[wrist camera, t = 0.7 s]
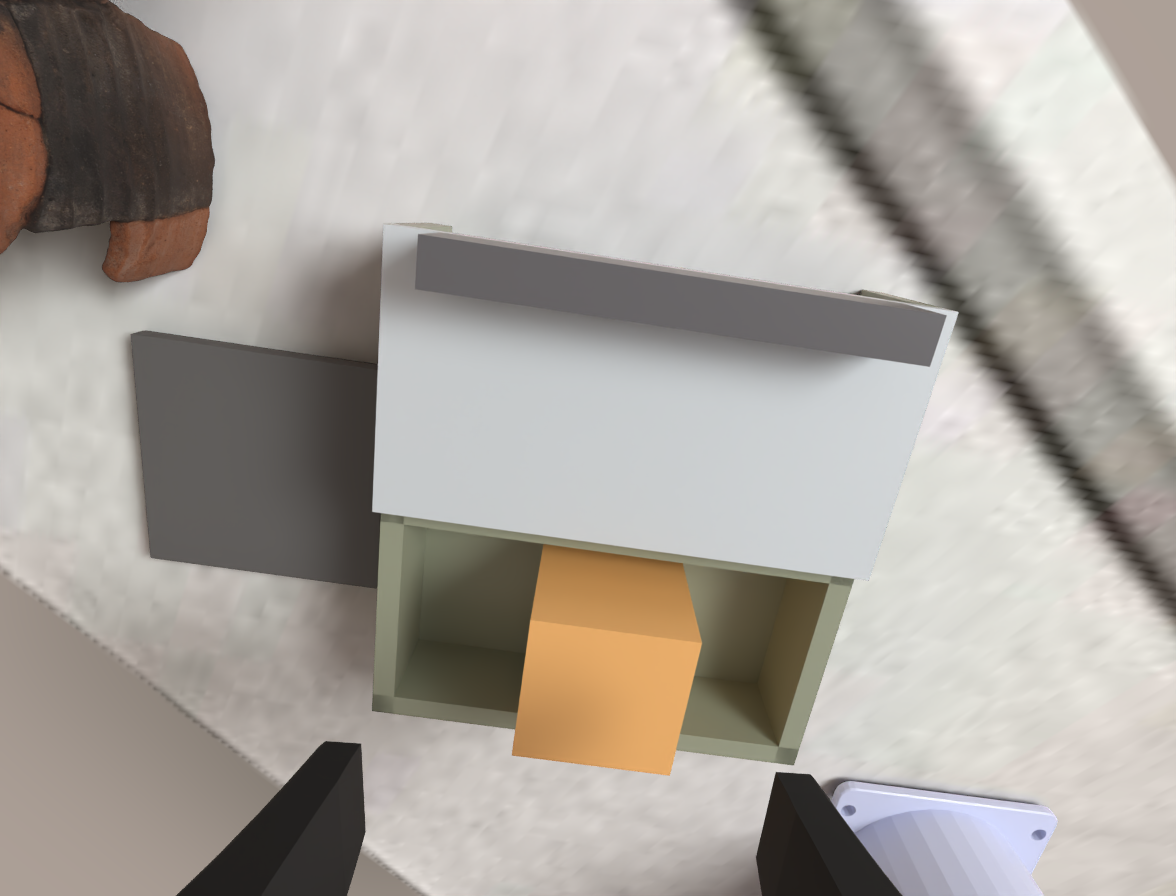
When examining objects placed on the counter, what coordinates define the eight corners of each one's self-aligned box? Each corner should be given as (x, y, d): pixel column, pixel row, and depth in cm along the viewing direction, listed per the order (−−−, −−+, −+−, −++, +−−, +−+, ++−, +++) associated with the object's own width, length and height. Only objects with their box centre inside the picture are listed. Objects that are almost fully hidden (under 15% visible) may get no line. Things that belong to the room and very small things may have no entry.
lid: (860, 568, 17) (900, 622, 14) (380, 501, 16) (344, 547, 14) (944, 308, 15) (1008, 324, 12) (392, 223, 14) (352, 223, 12)
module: (653, 650, 21) (669, 775, 16) (531, 634, 21) (511, 755, 16) (677, 542, 20) (701, 643, 15) (546, 523, 20) (530, 619, 15)
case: (766, 690, 22) (793, 765, 19) (403, 642, 22) (372, 711, 19) (883, 293, 18) (942, 308, 15) (429, 222, 17) (393, 223, 14)
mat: (382, 578, 21) (376, 588, 20) (162, 548, 21) (151, 557, 20) (392, 366, 19) (386, 371, 18) (145, 330, 18) (130, 334, 18)
